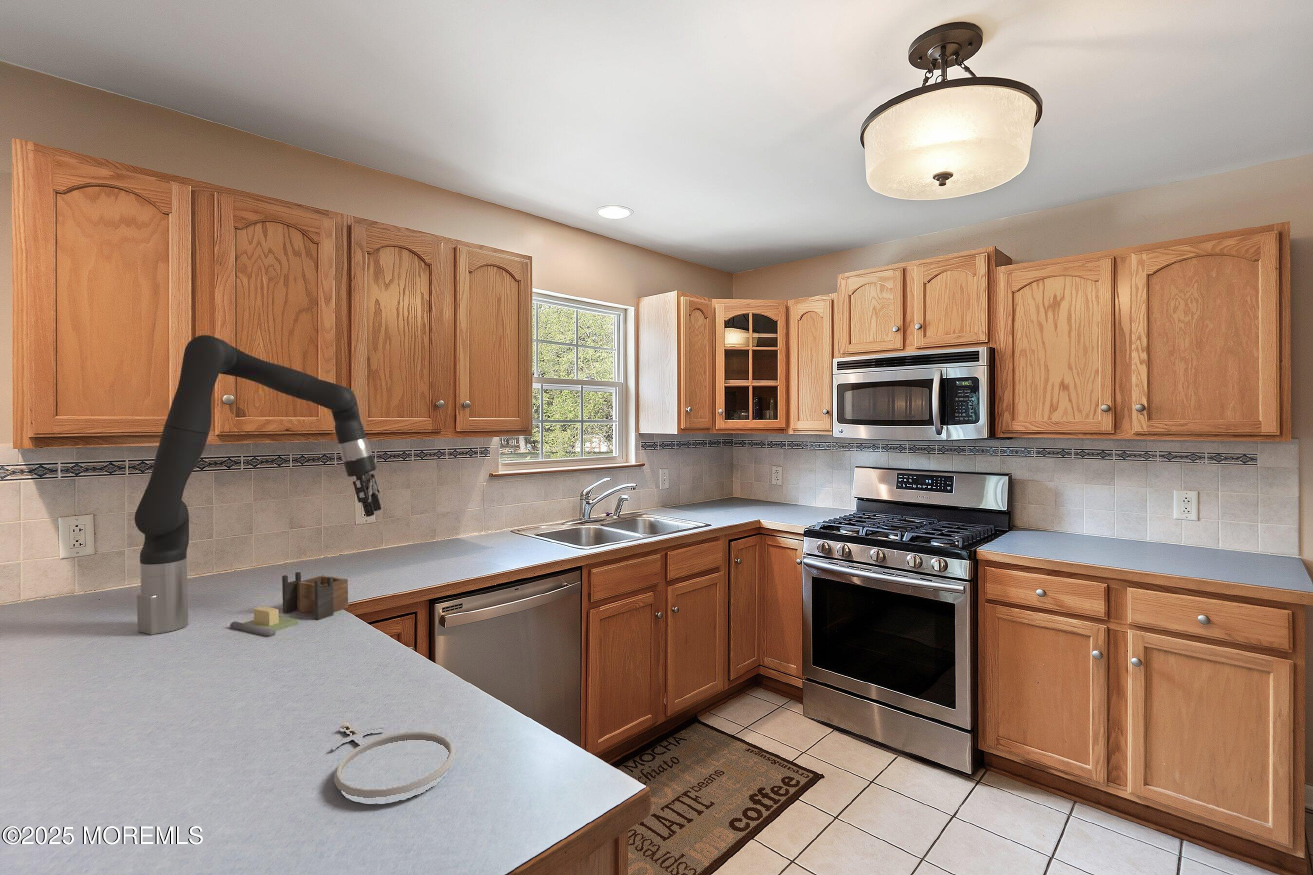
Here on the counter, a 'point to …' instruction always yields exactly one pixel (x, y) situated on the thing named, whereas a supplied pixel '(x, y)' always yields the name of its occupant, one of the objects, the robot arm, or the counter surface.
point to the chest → (315, 595)
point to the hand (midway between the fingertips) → (374, 513)
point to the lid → (265, 622)
